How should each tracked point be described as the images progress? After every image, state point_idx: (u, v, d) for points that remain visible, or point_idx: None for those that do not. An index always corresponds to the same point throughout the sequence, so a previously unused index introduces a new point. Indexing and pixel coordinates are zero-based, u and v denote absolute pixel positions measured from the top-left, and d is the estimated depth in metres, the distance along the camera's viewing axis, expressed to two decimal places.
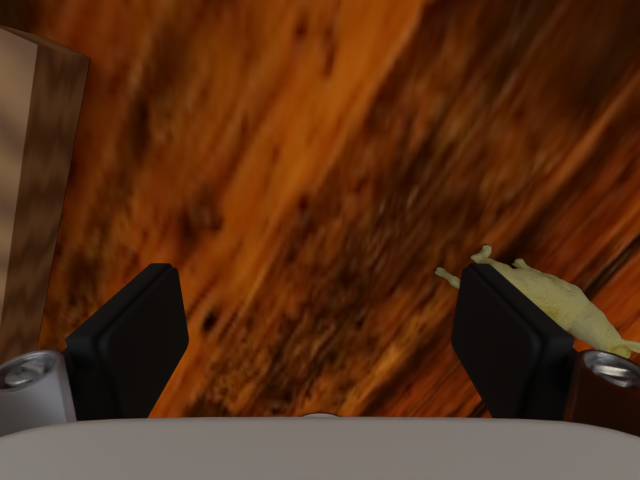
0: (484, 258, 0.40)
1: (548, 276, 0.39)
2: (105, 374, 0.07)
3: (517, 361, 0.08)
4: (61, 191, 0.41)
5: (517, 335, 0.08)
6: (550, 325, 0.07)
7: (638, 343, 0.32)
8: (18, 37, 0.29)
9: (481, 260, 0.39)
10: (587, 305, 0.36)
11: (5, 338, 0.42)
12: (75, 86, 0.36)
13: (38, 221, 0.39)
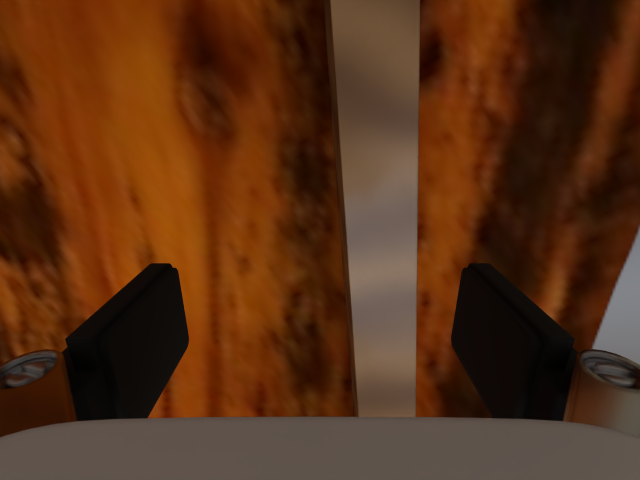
0: None
1: None
2: (105, 374, 0.07)
3: (517, 361, 0.08)
4: None
5: (517, 335, 0.08)
6: (550, 325, 0.07)
7: None
8: None
9: None
10: None
11: (352, 338, 0.25)
12: None
13: None
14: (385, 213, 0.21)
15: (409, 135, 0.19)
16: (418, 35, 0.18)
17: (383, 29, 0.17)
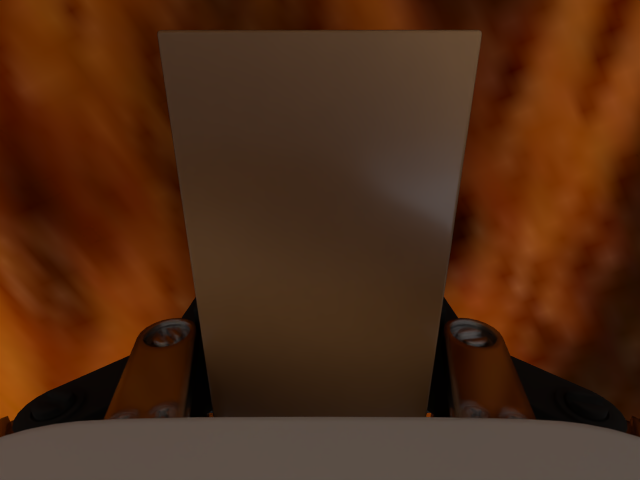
0: None
1: None
2: None
3: None
4: None
5: None
6: None
7: None
8: None
9: None
10: None
11: None
12: None
13: None
14: None
15: None
16: (434, 343, 0.07)
17: (339, 331, 0.06)
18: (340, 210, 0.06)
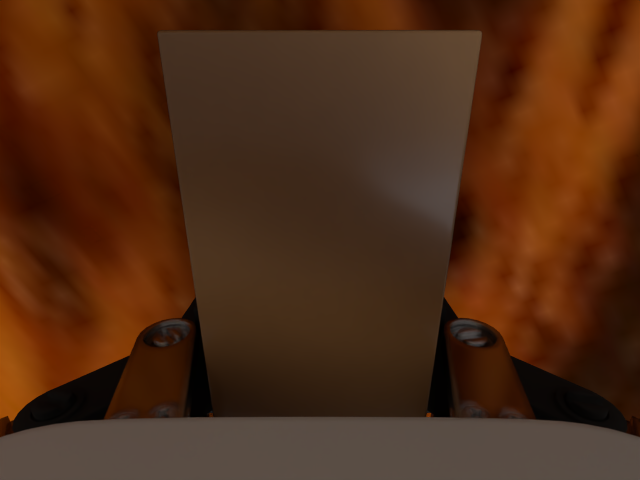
0: None
1: None
2: None
3: None
4: None
5: None
6: None
7: None
8: None
9: None
10: None
11: None
12: None
13: None
14: None
15: None
16: (434, 343, 0.07)
17: (339, 331, 0.06)
18: (340, 210, 0.06)
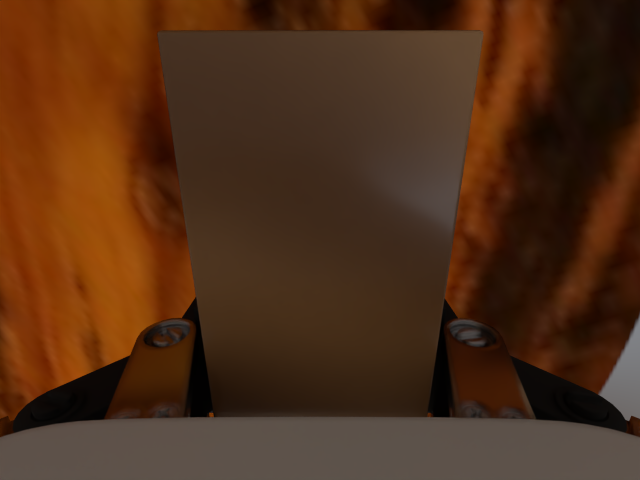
0: None
1: None
2: None
3: None
4: None
5: None
6: None
7: None
8: None
9: None
10: None
11: None
12: None
13: None
14: None
15: None
16: (435, 344, 0.07)
17: (339, 332, 0.06)
18: (341, 211, 0.06)
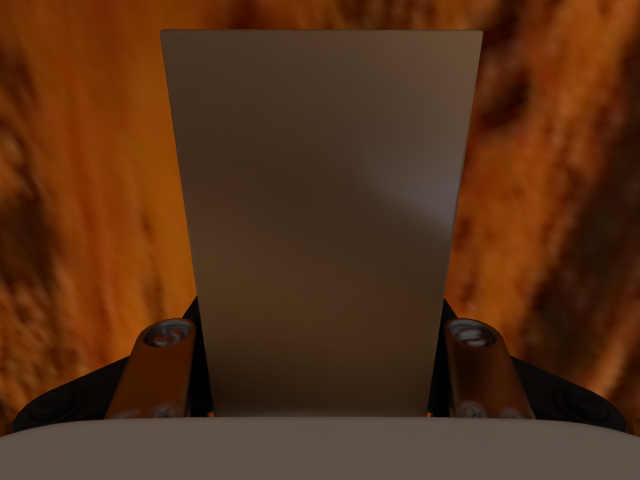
0: None
1: None
2: None
3: None
4: None
5: None
6: None
7: None
8: None
9: None
10: None
11: None
12: None
13: None
14: None
15: None
16: (434, 342, 0.07)
17: (340, 330, 0.06)
18: (341, 209, 0.06)
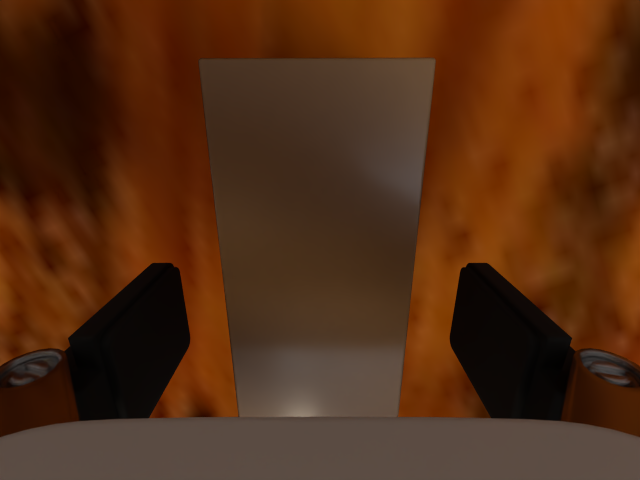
0: None
1: None
2: (108, 373, 0.07)
3: (515, 360, 0.08)
4: None
5: (515, 334, 0.08)
6: (548, 324, 0.07)
7: None
8: None
9: None
10: None
11: None
12: None
13: None
14: None
15: None
16: (408, 300, 0.08)
17: (332, 289, 0.08)
18: (332, 191, 0.07)
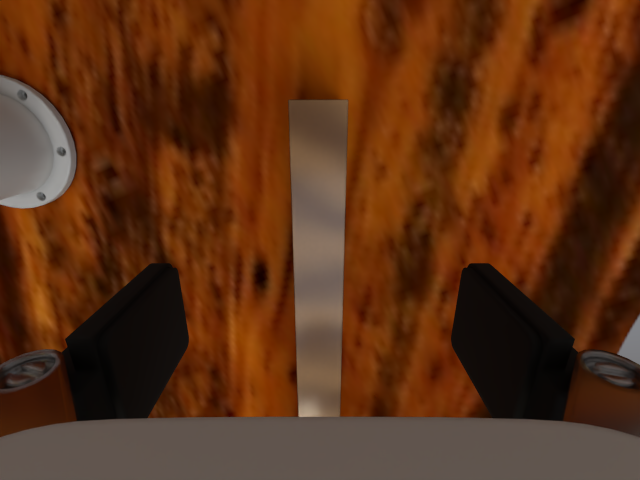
0: None
1: None
2: (105, 374, 0.07)
3: (517, 361, 0.08)
4: None
5: (517, 335, 0.08)
6: (550, 325, 0.07)
7: None
8: None
9: None
10: None
11: None
12: None
13: None
14: (321, 276, 0.31)
15: (338, 229, 0.29)
16: None
17: (322, 166, 0.27)
18: (322, 135, 0.26)
